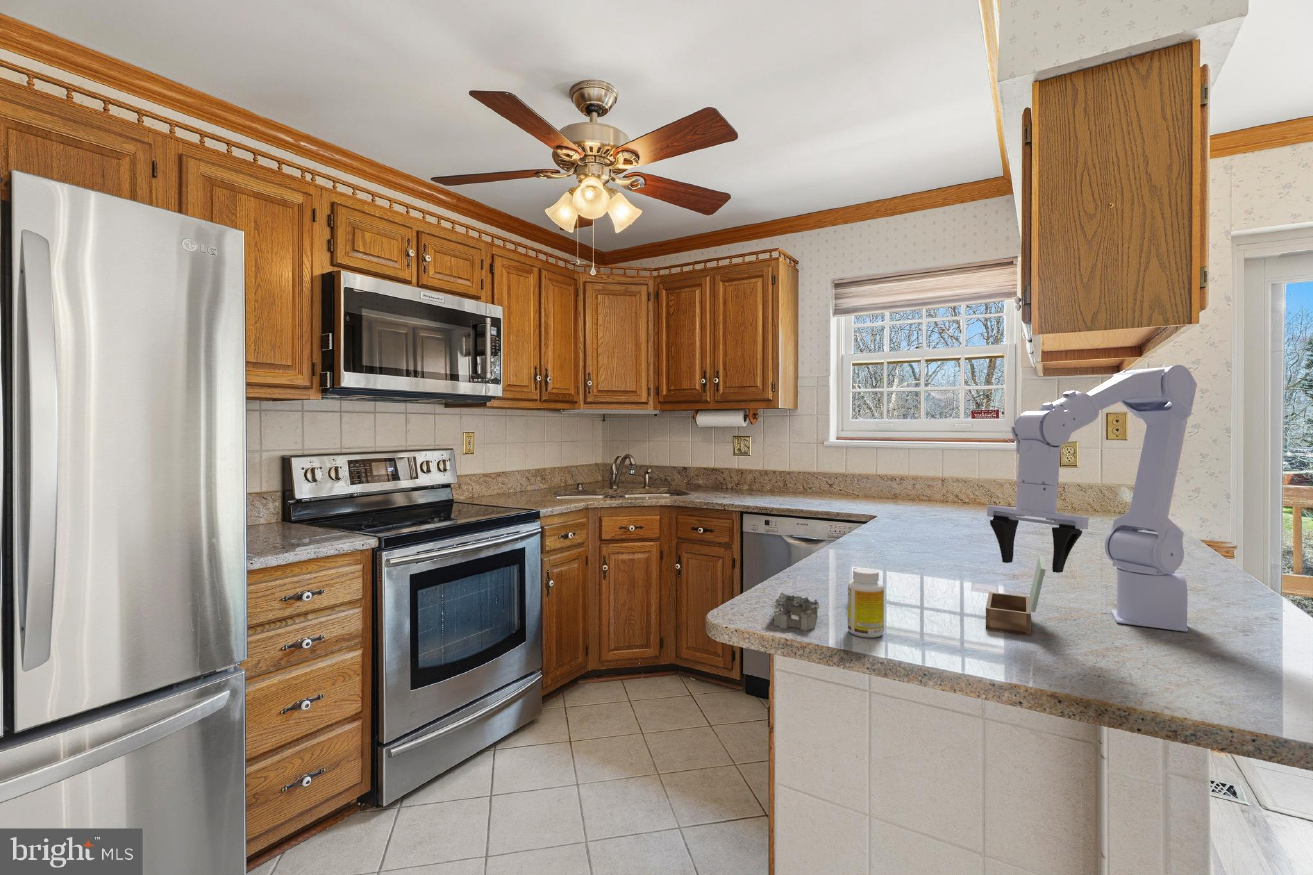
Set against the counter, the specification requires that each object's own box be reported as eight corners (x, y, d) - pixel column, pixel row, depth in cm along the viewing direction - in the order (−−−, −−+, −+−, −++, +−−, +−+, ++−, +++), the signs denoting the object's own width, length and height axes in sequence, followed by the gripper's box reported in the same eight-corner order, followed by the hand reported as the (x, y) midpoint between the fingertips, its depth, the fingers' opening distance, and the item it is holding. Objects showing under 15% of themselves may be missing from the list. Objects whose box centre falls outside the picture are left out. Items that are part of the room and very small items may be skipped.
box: (1029, 616, 110) (1029, 596, 110) (1030, 636, 100) (1030, 613, 100) (988, 611, 113) (988, 591, 113) (985, 629, 103) (985, 608, 103)
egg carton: (814, 633, 102) (814, 608, 102) (768, 628, 104) (768, 604, 104) (822, 615, 111) (822, 592, 111) (780, 611, 114) (780, 588, 114)
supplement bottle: (891, 636, 99) (891, 573, 99) (862, 640, 97) (863, 575, 97) (868, 626, 105) (868, 565, 104) (840, 629, 103) (840, 568, 103)
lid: (1029, 593, 110) (1034, 595, 110) (1030, 611, 99) (1035, 612, 99) (1039, 554, 109) (1043, 556, 109) (1041, 568, 99) (1046, 569, 98)
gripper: (980, 479, 105) (974, 559, 105) (1077, 487, 93) (1071, 578, 93) (1000, 480, 109) (995, 557, 109) (1096, 488, 97) (1090, 575, 97)
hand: (1031, 567), depth 101 cm, fingers open, 7 cm apart
